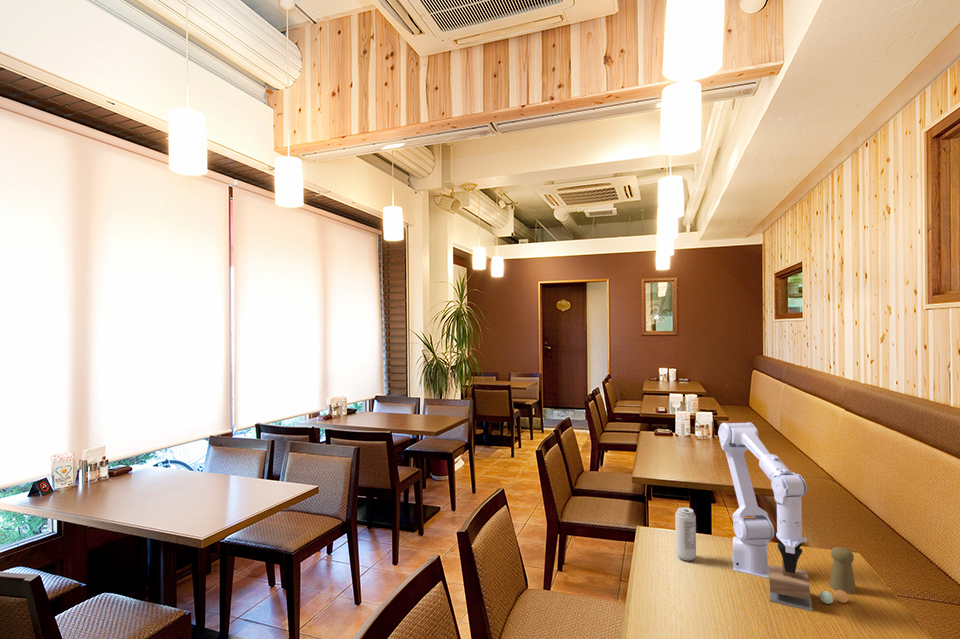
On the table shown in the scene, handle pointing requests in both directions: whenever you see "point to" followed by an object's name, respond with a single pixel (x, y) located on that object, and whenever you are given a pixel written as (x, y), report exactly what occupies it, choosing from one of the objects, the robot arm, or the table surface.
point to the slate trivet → (791, 601)
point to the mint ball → (826, 597)
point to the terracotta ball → (841, 596)
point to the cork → (842, 570)
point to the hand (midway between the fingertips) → (789, 569)
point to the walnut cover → (789, 582)
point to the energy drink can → (685, 533)
